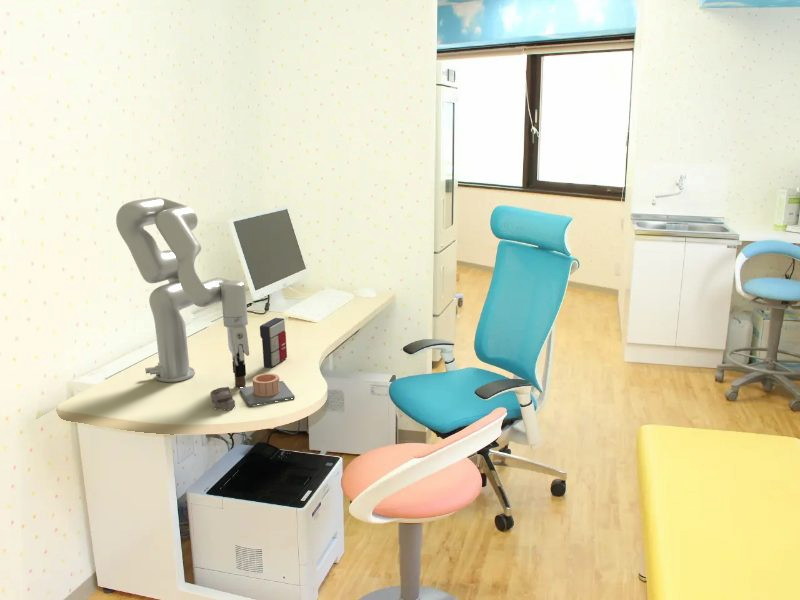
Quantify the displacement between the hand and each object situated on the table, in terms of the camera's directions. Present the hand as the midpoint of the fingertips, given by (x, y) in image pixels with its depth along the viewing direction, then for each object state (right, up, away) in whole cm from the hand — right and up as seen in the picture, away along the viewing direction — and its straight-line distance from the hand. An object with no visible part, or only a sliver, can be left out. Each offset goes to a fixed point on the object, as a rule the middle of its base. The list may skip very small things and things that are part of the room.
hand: (239, 373), depth 229 cm
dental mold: (-2, -9, -14) cm, 17 cm away
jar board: (+10, -6, -6) cm, 13 cm away
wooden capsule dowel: (0, -4, +1) cm, 4 cm away
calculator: (+8, +1, +22) cm, 24 cm away
